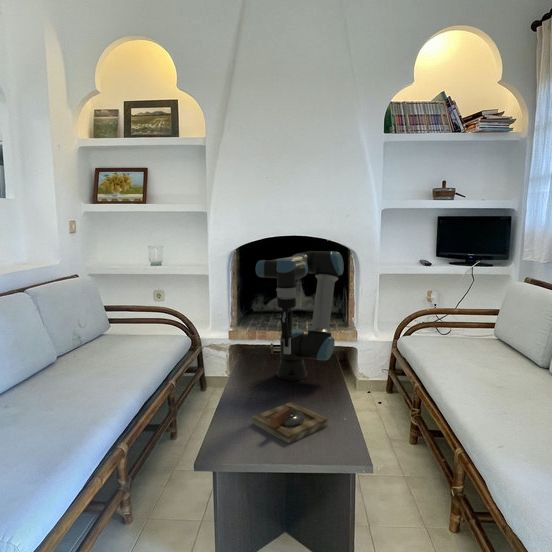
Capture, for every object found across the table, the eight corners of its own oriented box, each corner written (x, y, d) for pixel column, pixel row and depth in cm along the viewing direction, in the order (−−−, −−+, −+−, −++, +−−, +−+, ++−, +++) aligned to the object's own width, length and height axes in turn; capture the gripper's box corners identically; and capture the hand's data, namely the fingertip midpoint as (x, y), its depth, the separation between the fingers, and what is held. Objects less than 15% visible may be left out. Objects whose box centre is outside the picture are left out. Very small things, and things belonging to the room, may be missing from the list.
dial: (285, 410, 164) (285, 398, 164) (309, 418, 158) (309, 404, 158) (260, 427, 151) (260, 413, 150) (285, 435, 145) (285, 421, 144)
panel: (291, 408, 171) (291, 401, 171) (327, 425, 156) (327, 418, 156) (252, 423, 158) (252, 415, 158) (288, 443, 143) (288, 435, 143)
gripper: (280, 294, 175) (281, 348, 178) (273, 300, 162) (274, 358, 166) (298, 294, 173) (299, 349, 176) (292, 300, 160) (293, 359, 164)
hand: (287, 353), depth 171 cm, fingers closed
